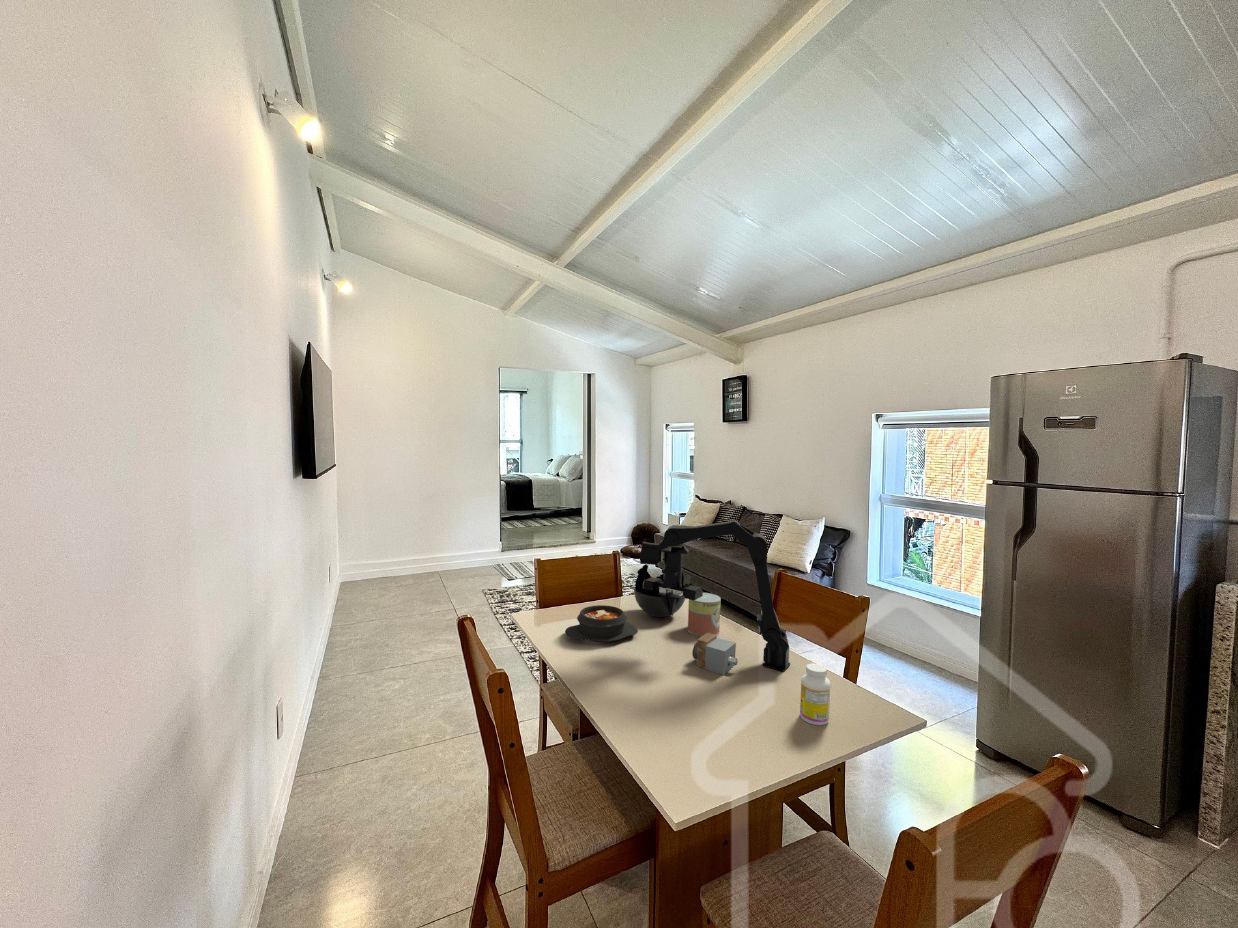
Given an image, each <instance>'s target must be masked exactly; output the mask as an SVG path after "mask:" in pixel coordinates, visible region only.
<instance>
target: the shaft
mask: <svg viewBox="0 0 1238 928" xmlns="http://www.w3.org/2000/svg"><path fill="white" fill-rule="evenodd" d="M691 655H692V658H693V659H694V660H696V661H697V641H696V642H695V643H694V645H693V649H692V654H691ZM738 660H739V659H738V658H736V657H735V658H733V657H730V656H729V657H728V663H729V664H732V665H735V666H737V665H738V662H739V661H738ZM735 666H734V667H735Z"/></svg>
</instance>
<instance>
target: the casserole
mask: <svg viewBox="0 0 1238 928" xmlns="http://www.w3.org/2000/svg"><path fill="white" fill-rule="evenodd" d="M576 620H577V621H578V623H579V624H575V625H570V626H568V627H567V628H566V629H565V630H564V633H565V635H566V637H568V638H570V639H571V640H574V641H587V642H588V641H589V642H595V643H609V642H616V641H619V640H622V639H624V638H628V637H632V636H635V635H636V634H638V632H639V629H638V627H636V626H635V625H633V623H630V622H627V621H628V617H627V616H626V613H625V612H624V610H623V609H622V608H620V607H616V606H612V605H606V604H605V605H602V604H599V605H591V606H587V607H584V608H581V610H580V612H579V614H578V616H577V617H576Z"/></svg>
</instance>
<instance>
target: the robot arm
mask: <svg viewBox="0 0 1238 928" xmlns="http://www.w3.org/2000/svg"><path fill="white" fill-rule="evenodd" d="M729 535H730V536H733V537H734V538H736V539H737V541H739V542H740V543H741V544H743V545H744V546H745V547H747V549H748V553H749V555H750V558H751V560H752V563H753V567H754V571H755V575H756V576H755V577H756V582H757V583H756V585H757V589H758V594H759V602H760V606H761V607H760V609H761V613H760V614H756V620H757V625H758V632H759V635H761V636H762V639H763V640H764V641H765V642H766V643H765V647H764V648H763V656H762V657H763V658H762V659H763V663H762V666H763V667H766V668H769V669H773V670H777V671H781V672H786V670H787V669H788V668H789V667H790V665H791V662H789V661H790V660H789V659H790V645H789V640H788V636H787V634H786V632H784V630H782V628H781V625H780V622H779V618H778V616H777V612H776V611H775V608H774V601H773V596H772V591H771V584H770V578H769V576H770V575H769V571H768V543H767V539H766V537H765V536H764V535H763V534H761V533H758V532H757V533H756V532H753V531H752V530H750V529H749V528H747V527H746V526H745V525H742V524H741V523H740V522H739V521H738V520H735V519H732V520H730V521H725V522H717V523H709V524H708V523H707V524H703V525H702V524H701V525H695V526H693V525H692V526H690V525H684V524H683V525H680V524H679V525H678V524H675V525H674V524H673V525H670V526H669V527H668V528H667V529H666V531H665V532H664V534H663V539H661V540H660V541H659V542H658V543H654V542H647V541H643V542H642V543H641V549H640V554H639V563H640V564H641V565H645V564H647V565H651V566H652V565H655V566H658V565H660V563H662V562H663V569H661V574H663V573H664V578H663V582H662V580H661V579H659V578H656V577H653V576H651V578H649V579H646V580H645V581H644V582H643V589H646V590H652V589H653V587H656V588H659V593H658V595H660V596H661V598H662V600H663V602H664V603H665V606H666V608H667V610H668V613H669V615H670V616H673V615H674V614H675V613H676V612H675V609H676V606H677V604H678V602H679V600H680V598H682V597H684V598H685V600H689V599H690V600H696V599H698V598H700V597H702V596H703V593H704V591H703V589H702V587H700V586H696V585H693V584H692V585H690V582H691V577H692V576H691V575H690V574H687V573H685V569H684V568H683V554H685V555H687V554H689V551H690V550H689V549H688V548H687V547H686V545H685V544H687V543H689V542H692V541H695V540H701V539H708V538H715V537H723V536H729ZM681 545H682V546H681ZM669 547H671V548H669ZM682 585H683V586H685V587H681V586H682ZM686 586H687V587H686ZM674 612H675V613H674Z"/></svg>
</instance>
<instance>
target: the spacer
mask: <svg viewBox="0 0 1238 928" xmlns="http://www.w3.org/2000/svg"><path fill="white" fill-rule="evenodd" d="M717 636H718V635H715V634H711V633H706V634H705V635H703V636H700V637H699V638H698V639H697V641H696V642H697V660H696V667H699V668H702V669H705V657H706V645H708V644H709V643H711V642H712V641H713V640H715V639H716V638H718V637H717Z"/></svg>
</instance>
